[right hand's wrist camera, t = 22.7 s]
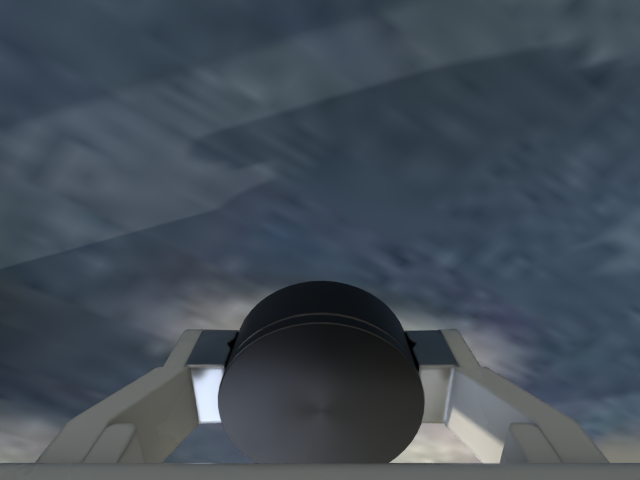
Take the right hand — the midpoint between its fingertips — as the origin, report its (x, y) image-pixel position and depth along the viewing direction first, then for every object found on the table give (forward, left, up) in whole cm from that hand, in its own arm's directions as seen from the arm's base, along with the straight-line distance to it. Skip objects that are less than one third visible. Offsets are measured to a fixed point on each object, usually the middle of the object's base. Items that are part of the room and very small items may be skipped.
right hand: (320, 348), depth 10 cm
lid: (0, 0, +2) cm, 2 cm away
